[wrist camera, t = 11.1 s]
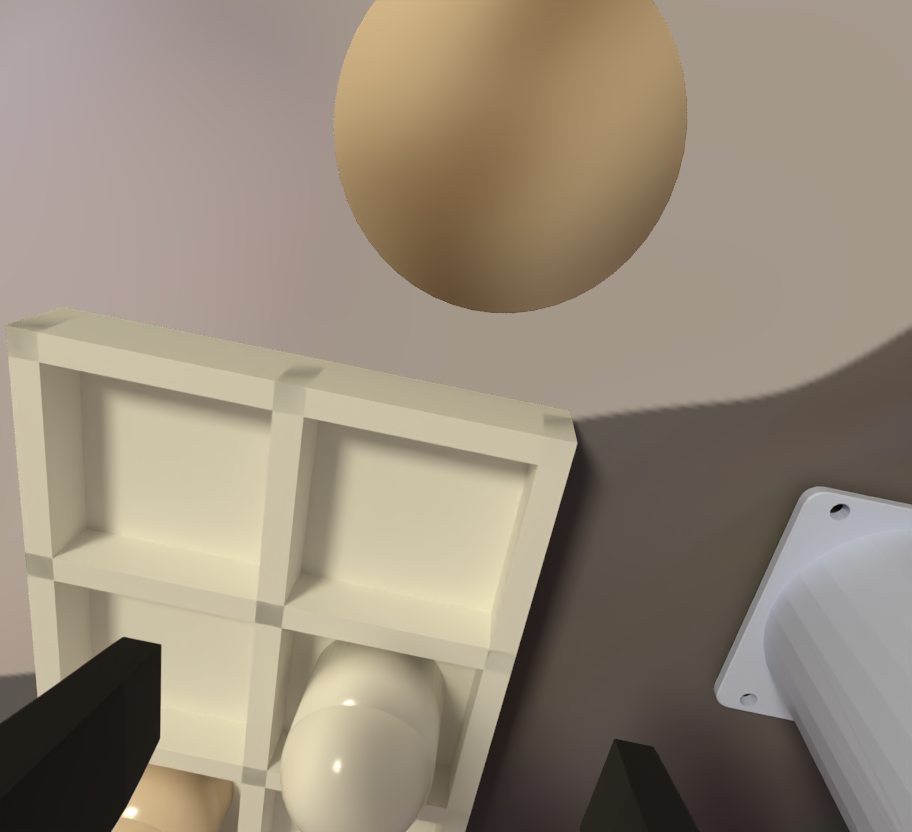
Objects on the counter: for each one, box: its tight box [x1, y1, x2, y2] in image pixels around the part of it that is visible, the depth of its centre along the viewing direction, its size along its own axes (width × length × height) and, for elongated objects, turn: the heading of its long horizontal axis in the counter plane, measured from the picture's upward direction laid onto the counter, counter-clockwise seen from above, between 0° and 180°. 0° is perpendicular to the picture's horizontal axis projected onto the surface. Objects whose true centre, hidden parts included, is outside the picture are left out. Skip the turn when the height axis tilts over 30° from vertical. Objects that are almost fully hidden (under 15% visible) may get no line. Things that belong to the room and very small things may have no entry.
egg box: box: [6, 306, 577, 832], centre depth 21 cm, size 14×21×2 cm
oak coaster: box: [333, 0, 687, 313], centre depth 15 cm, size 8×8×1 cm
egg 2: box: [280, 640, 445, 832], centre depth 19 cm, size 4×4×5 cm
